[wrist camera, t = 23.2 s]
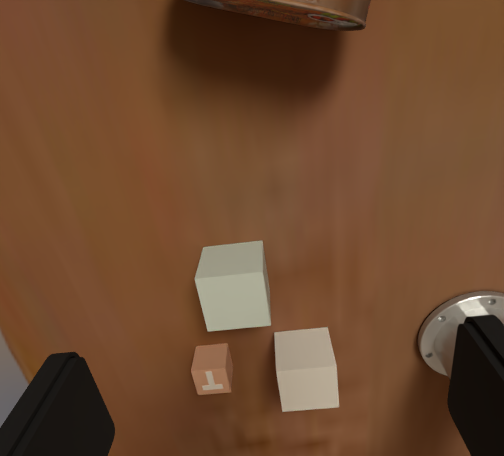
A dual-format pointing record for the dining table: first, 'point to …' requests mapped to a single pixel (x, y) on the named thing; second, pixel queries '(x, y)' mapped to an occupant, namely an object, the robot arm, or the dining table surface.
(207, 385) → the letter block
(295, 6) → the tin
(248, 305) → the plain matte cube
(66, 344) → the dining table surface
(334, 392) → the cream cube
